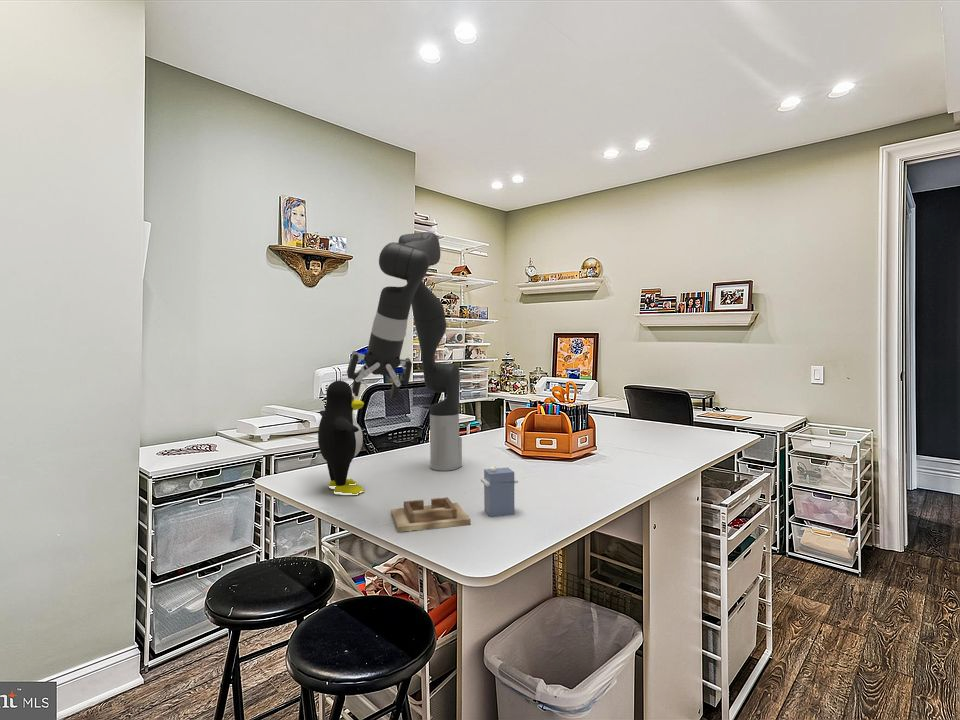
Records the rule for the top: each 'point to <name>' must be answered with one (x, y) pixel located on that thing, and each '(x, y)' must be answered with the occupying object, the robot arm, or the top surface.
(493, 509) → the servo block
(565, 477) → the top surface
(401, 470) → the top surface
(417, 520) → the wooden fixture board
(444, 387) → the robot arm
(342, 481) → the toy
